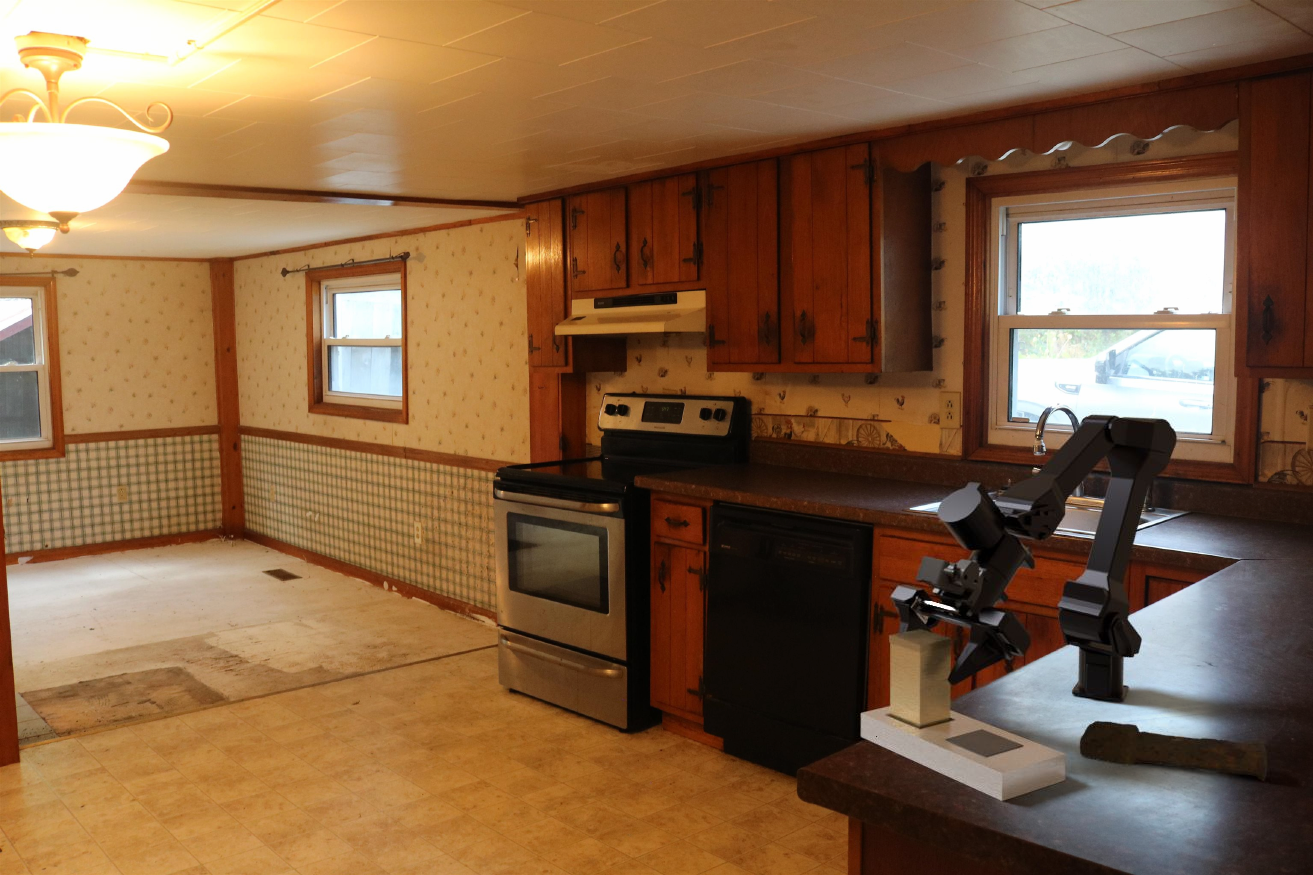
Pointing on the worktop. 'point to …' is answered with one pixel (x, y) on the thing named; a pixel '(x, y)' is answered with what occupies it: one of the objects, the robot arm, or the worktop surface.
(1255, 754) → the hand tool
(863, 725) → the white base plate
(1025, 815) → the worktop surface
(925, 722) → the beige tall square block
